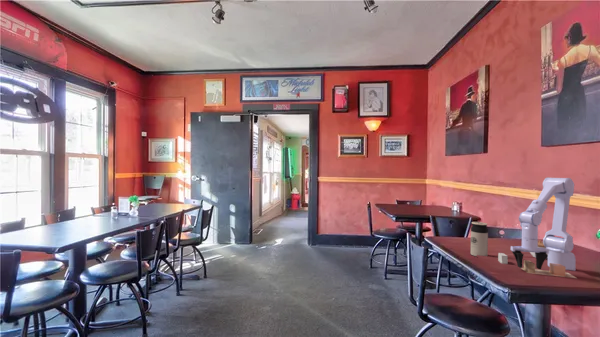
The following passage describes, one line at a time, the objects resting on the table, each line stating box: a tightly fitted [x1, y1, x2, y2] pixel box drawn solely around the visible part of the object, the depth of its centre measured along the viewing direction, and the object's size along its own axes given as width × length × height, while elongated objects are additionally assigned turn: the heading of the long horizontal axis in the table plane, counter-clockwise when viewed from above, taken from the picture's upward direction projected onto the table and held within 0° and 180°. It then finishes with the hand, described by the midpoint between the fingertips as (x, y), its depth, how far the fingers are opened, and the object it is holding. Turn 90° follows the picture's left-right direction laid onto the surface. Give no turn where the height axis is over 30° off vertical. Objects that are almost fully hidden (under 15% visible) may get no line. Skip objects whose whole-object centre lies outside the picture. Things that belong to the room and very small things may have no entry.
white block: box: [497, 252, 509, 265], centre depth 141 cm, size 18×7×5 cm, turn 72°
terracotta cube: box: [548, 263, 567, 277], centre depth 127 cm, size 4×4×4 cm
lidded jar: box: [529, 239, 548, 260], centre depth 157 cm, size 11×11×9 cm
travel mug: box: [470, 221, 489, 258], centre depth 158 cm, size 8×8×18 cm
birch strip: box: [520, 259, 577, 279], centre depth 128 cm, size 18×7×5 cm, turn 72°
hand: (529, 267), depth 131 cm, fingers open, 7 cm apart
